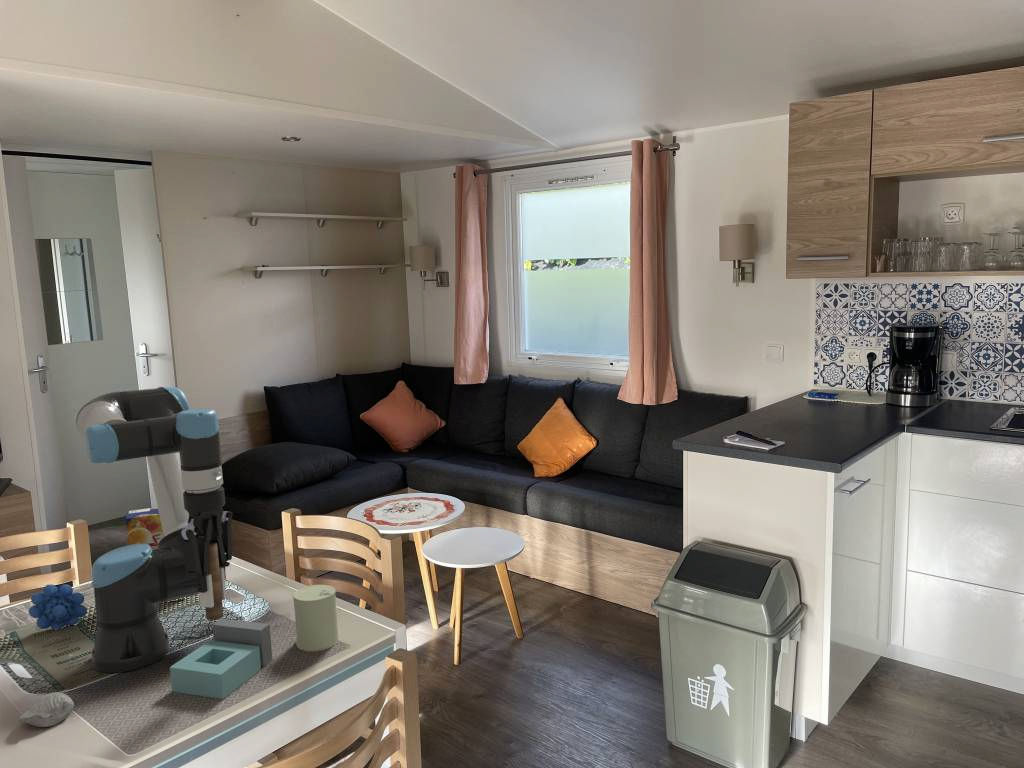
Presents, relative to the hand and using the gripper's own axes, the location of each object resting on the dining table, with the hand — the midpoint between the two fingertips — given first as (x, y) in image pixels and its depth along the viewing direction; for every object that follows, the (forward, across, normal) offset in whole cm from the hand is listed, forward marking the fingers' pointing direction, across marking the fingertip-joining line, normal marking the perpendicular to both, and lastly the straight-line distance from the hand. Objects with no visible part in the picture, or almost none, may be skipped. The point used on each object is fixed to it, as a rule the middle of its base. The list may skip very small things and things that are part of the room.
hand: (213, 602), depth 156 cm
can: (+16, +19, -11) cm, 27 cm away
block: (+16, -1, 0) cm, 16 cm away
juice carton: (+16, +29, +40) cm, 52 cm away
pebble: (+17, -21, +22) cm, 34 cm away
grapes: (+16, +9, +51) cm, 54 cm away
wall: (+16, +8, 0) cm, 18 cm away
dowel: (+3, 0, 0) cm, 3 cm away
